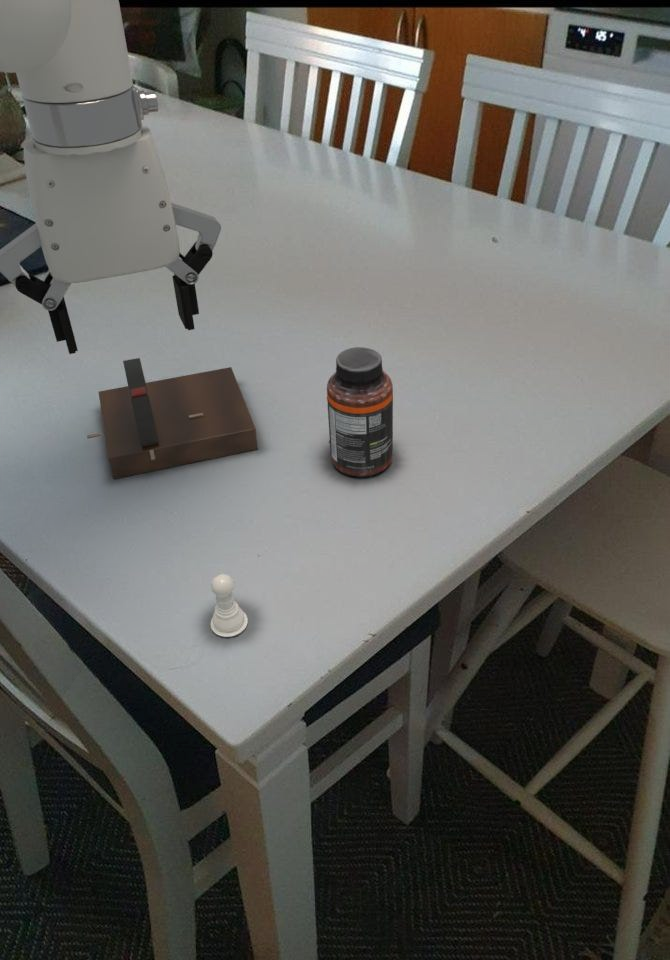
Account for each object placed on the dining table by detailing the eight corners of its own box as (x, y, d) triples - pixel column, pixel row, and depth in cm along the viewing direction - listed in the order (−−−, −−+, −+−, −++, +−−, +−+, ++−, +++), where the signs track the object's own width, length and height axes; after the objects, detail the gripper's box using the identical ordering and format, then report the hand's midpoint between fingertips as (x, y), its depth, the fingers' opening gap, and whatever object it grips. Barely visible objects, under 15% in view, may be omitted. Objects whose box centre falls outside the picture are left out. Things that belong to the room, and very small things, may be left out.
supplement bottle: (352, 434, 81) (350, 333, 73) (404, 453, 78) (406, 351, 71) (318, 466, 77) (311, 363, 70) (371, 487, 74) (370, 383, 67)
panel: (97, 493, 75) (91, 471, 73) (88, 414, 85) (82, 392, 83) (261, 458, 78) (259, 436, 76) (233, 386, 88) (231, 365, 86)
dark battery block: (133, 408, 81) (122, 358, 77) (149, 405, 81) (139, 355, 78) (142, 447, 76) (130, 396, 72) (159, 444, 76) (148, 393, 72)
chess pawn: (212, 641, 61) (203, 596, 58) (209, 613, 63) (200, 568, 60) (249, 634, 61) (242, 589, 58) (245, 607, 63) (238, 562, 60)
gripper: (193, 90, 62) (219, 296, 73) (-46, 120, 57) (20, 334, 68) (217, 115, 56) (242, 334, 67) (-46, 150, 52) (26, 378, 63)
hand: (130, 334), depth 68 cm, fingers open, 9 cm apart
